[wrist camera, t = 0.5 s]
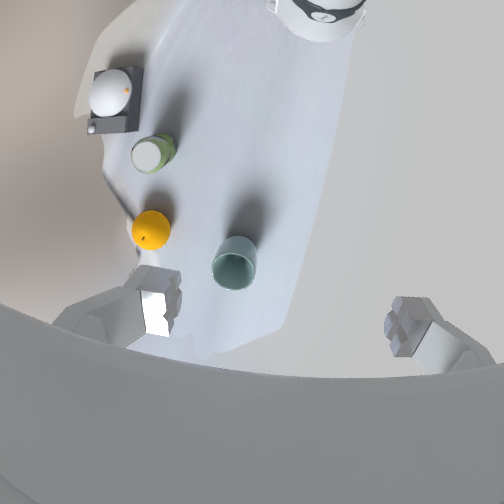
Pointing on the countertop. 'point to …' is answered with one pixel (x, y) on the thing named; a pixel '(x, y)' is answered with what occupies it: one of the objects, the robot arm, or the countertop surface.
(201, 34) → the countertop surface
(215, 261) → the cup
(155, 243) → the apple
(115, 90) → the body block
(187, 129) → the countertop surface
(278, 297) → the countertop surface
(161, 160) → the beverage can
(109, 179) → the countertop surface
